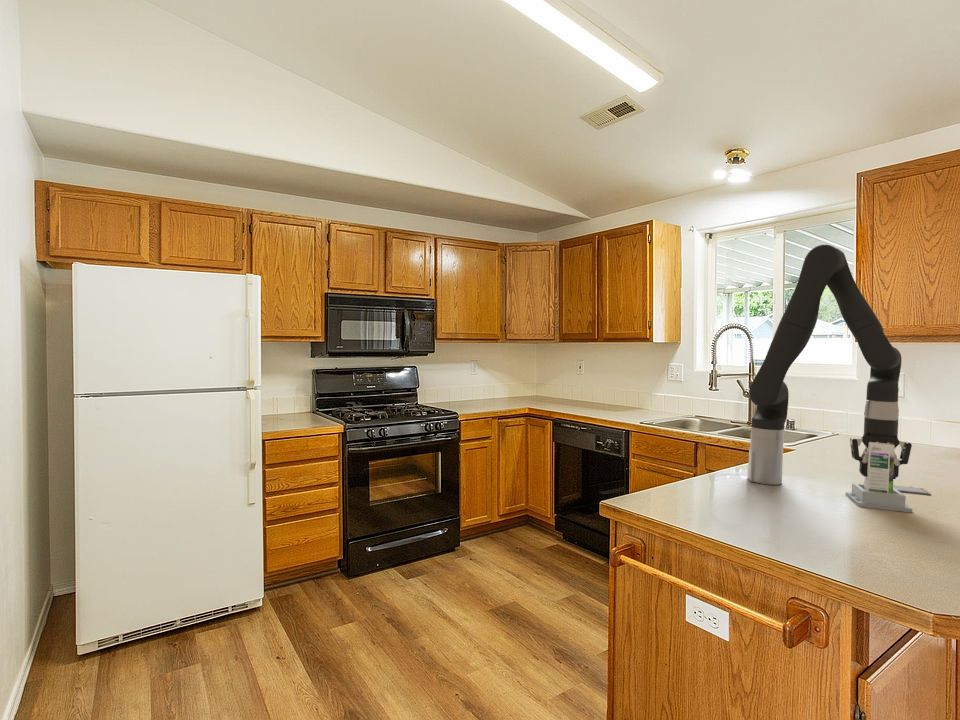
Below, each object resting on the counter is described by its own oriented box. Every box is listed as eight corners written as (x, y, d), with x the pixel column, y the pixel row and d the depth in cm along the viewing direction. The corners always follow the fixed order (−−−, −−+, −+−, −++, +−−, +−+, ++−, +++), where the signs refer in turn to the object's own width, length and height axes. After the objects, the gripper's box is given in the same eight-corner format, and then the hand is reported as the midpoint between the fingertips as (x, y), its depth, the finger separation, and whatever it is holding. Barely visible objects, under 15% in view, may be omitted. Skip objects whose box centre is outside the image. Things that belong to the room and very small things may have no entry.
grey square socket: (858, 506, 144) (858, 491, 144) (845, 495, 155) (846, 481, 155) (912, 512, 139) (913, 497, 139) (895, 500, 151) (895, 486, 151)
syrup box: (866, 494, 146) (869, 442, 145) (863, 489, 151) (865, 439, 151) (892, 497, 143) (895, 444, 143) (888, 492, 148) (890, 441, 148)
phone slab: (931, 497, 157) (931, 493, 157) (878, 491, 162) (878, 488, 162) (921, 491, 163) (921, 487, 163) (871, 486, 168) (871, 482, 168)
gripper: (854, 416, 145) (851, 477, 146) (918, 420, 140) (915, 483, 141) (846, 413, 152) (844, 471, 153) (907, 417, 147) (904, 477, 148)
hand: (878, 477), depth 147 cm, fingers closed on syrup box, 6 cm apart
